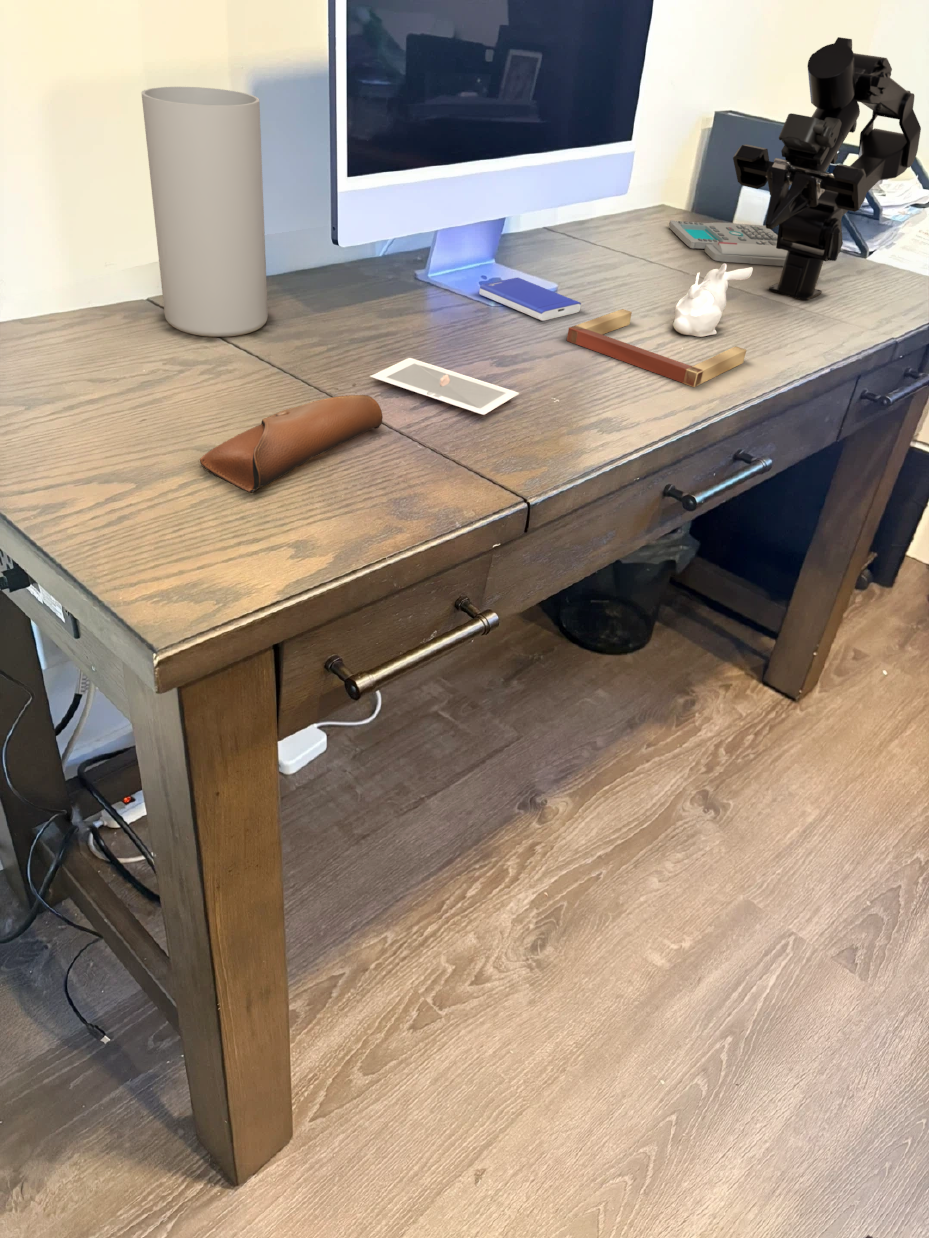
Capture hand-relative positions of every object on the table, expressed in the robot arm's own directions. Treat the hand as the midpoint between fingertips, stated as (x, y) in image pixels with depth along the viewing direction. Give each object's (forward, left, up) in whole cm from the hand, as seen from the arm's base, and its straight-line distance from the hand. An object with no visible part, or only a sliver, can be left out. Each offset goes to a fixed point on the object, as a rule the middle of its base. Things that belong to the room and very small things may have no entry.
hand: (768, 227), depth 131 cm
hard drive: (+24, -22, -12) cm, 35 cm away
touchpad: (+58, -8, -12) cm, 60 cm away
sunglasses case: (+80, -8, -12) cm, 82 cm away
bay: (+26, 0, -12) cm, 29 cm away
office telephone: (-36, -20, -12) cm, 43 cm away
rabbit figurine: (+12, 0, -12) cm, 18 cm away
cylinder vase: (+64, -41, -12) cm, 77 cm away
